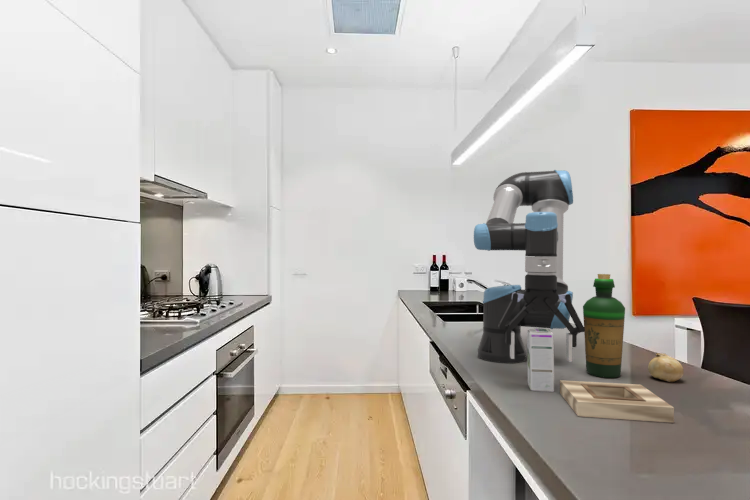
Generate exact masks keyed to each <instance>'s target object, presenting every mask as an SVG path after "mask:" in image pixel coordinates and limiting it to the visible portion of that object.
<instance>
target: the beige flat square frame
mask: <svg viewBox="0 0 750 500" xmlns="http://www.w3.org/2000/svg"><path fill="white" fill-rule="evenodd" d="M559 394H560V395H561V397H563V399H564V400H565V401H566V402H567V404H568V405H569V407H570V408H571V409H572V410H573V412H574V414H576V415H577V417H583V418H598V419H599V418H600V419H611V420H614V419H615V420H627V421H628V420H630V421H640V422H641V421H644V422H658V423H659V422H660V423H673V424H674V423H675V407H674V406H673V405H671V404H669V403H668V402H667V401H665V400H664V399H662V398H661V397H659V396H658V395H656V394H655V393H653V392H652V391H651V390H649V389H647V387H646V386H643V385H642V384H639V383H638V384H634V383H633V384H632V383H619V382H618V383H617V382H616V383H615V382H601V381H599V382H598V381H581V380H579V381H578V380H563V379H562V380H561V379H560V380H559Z"/></svg>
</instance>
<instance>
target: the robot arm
mask: <svg viewBox="0 0 750 500" xmlns="http://www.w3.org/2000/svg"><path fill="white" fill-rule="evenodd" d="M573 193H574V191H573V183H572V179H571V174H570V173H569V171H567V170H556V169H554V170H543V171H527V172H526V171H525V172H519V173H515V174H513V175H511V176H508V177H507V178H506V179H504V180H502V182H500V183H499V184H498V186H497V187H496V188H495V190H494V193H493V204H492V207H491V210H490V211H489V215H488V217H487V218H486V219H487V220H486V222H483V223H478V224H476V225H475V226H474V229H473V243H474V248H475V249H476V250H479V251H488V252H489V251H525V256H524V257H525V258H524V259H525V260H524V261H525V262H524V272H525V273H527V274H525V275H524V289H522V286H521V285H520V284H509V285H508V284H507V285H497V286H492V287H490V286H489V287H487V288H486V289H485V290H484V291H483V300H482V304H483V306H482V307H483V308H482V309H483V310H482V311H483V313H482V315H483V316H482V317H483V321H482V324H483V325H482V328H483V329H482V330H483V332H482V334H481V338H480V340H479V345H478V348H477V353H476V354H477V358H479V359H481V360H484V361H488V362H494V363H502V364H503V363H504V364H505V363H507V364H511V363H512V364H513V363H522V362H525V361H526V360H527V351H526V350H527V349H526V348H525V343H524V341H523V337H522V335H521V334H522V333H521V327H524V328H525V327H527V328H541V329H549V330H553V329H556V330H557V329H558V330H559V329H561V330H562V329H567V330H568V331H569V332H566V333H565V334H566V335H565V345H566V346H565V359H566V360H567V361H568V362H573V348H577V336H578V334H579V333H584V331H585V328H584V323H582V321H581V319H580V316H579V314H578V313H577V311H576V309H575V307H574V306H573V299H574V292H573V291H571V290H569V286H568V284H567V283H566V282H564V214H565V213H566V212H568V210H569V207H570V206H571V205H573V204H574V194H573ZM525 206H526V207H529V206H530V207H531V211H532V212H528V213H527V214H526V215H525V223H520V222H519V223H514V221H515V217H516V215H517V214H516V213H517V209H518V208H519V207H525ZM570 318H571V319H570ZM570 320H572V321H573V324H574V325H575V327H574V326H573V325H572V323H570Z"/></svg>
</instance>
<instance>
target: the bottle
mask: <svg viewBox="0 0 750 500" xmlns="http://www.w3.org/2000/svg"><path fill="white" fill-rule="evenodd" d="M592 287H593V288H595V296H593V297H590V298H589V299H588V300H586V301H585V303H584V304H583V305H582V314H583V326H584V328H585V331H584V332H583V334H584V349H585V351H584V352H585V367H586V372H587V373H588V374H590V375H591V376H594V377H598V378H604V379H614V378H618V377H621V374H622V359H623V346H624V345H623V344H624V343H623V342H624V333H625V332H624V331H625V318H626V317H625V316H626V307H625V305H624V304H623V303H622V302H621V300H619V299H617V298H616V297H613V289H614V288H615V287H616V285H615V282H614V279H613V278H611V274H609V273H598V274H597V278H594V281H593V285H592Z"/></svg>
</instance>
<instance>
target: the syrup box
mask: <svg viewBox="0 0 750 500" xmlns="http://www.w3.org/2000/svg"><path fill="white" fill-rule="evenodd" d="M526 332H527V333H526V335H527V336H526V346H527V347H526V348H527V349H526V350H527V351H526V360H527V361H526V362H527V363H526V365H527V368H526V369H527V372H526V375H527V377H526V378H527V386H528V388H529V390H530V391H533V392H534V391H535V392H546V393H547V392H550V393H554V392H555V355H554V354H555V352H554V351H555V348H554V343H555V342H554V332H552V331H551V329H550V328H538V327H532V328H527V329H526Z"/></svg>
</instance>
